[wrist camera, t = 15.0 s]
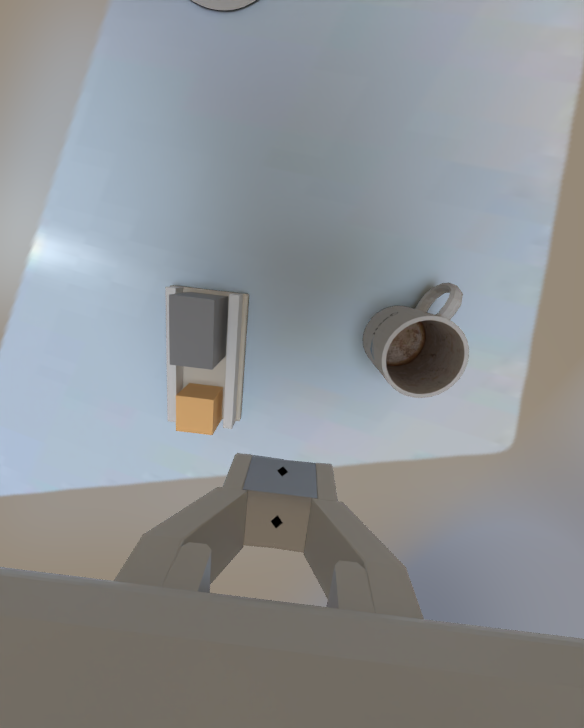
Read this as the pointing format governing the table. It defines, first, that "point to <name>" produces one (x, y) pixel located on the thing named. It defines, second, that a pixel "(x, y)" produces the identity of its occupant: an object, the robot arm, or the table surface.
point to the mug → (419, 345)
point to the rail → (209, 375)
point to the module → (197, 329)
